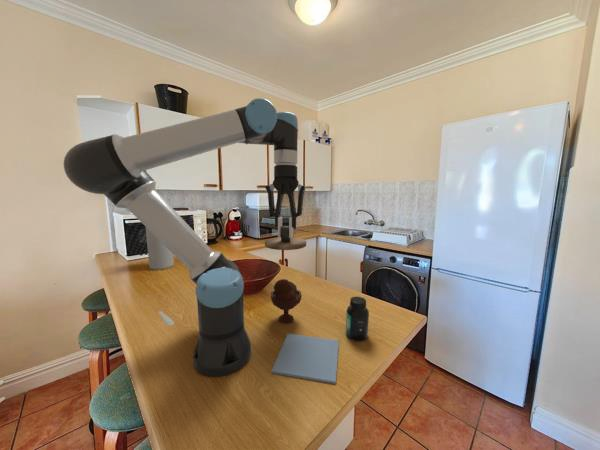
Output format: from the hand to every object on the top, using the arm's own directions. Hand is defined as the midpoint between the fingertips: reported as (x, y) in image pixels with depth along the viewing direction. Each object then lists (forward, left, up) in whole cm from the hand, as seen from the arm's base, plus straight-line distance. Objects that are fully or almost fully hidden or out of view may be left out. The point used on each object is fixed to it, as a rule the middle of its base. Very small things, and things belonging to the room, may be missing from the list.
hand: (285, 236), depth 80 cm
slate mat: (+11, -17, -30) cm, 36 cm away
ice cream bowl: (0, 0, -30) cm, 30 cm away
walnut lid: (0, 0, -3) cm, 3 cm away
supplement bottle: (+25, -4, -30) cm, 39 cm away
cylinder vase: (-86, +39, -30) cm, 99 cm away
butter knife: (-48, -5, -31) cm, 57 cm away
